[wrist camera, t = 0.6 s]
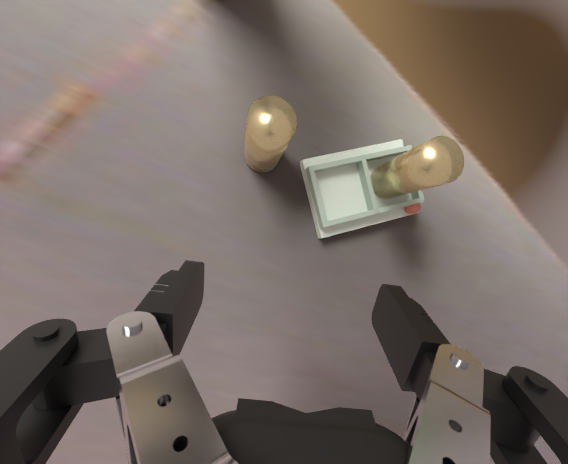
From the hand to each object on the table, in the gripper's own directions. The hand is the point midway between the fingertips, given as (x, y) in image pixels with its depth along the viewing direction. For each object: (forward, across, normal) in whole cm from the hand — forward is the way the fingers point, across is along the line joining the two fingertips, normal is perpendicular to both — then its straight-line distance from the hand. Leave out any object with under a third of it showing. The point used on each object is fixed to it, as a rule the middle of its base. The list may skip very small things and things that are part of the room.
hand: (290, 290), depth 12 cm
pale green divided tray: (+26, -10, 0) cm, 27 cm away
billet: (+25, +3, -3) cm, 25 cm away
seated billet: (+25, -13, -2) cm, 28 cm away
